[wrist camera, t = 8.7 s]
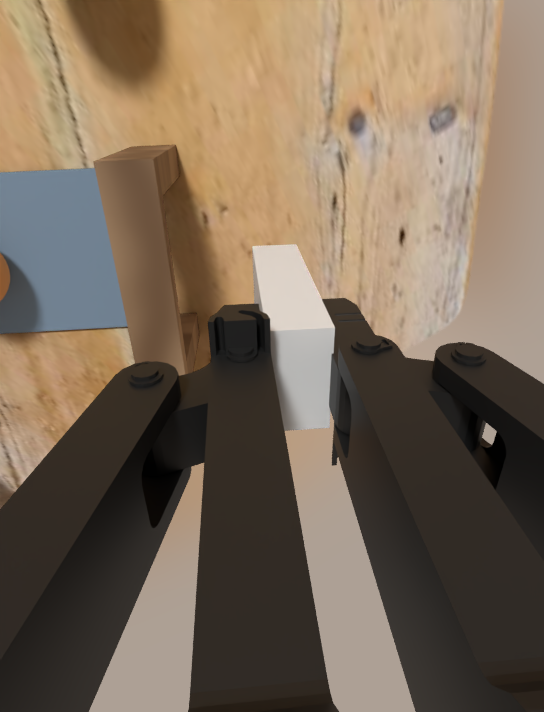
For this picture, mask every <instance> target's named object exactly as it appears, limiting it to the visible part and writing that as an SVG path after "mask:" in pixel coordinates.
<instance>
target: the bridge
mask: <svg viewBox="0 0 544 712" xmlns="http://www.w3.org/2000/svg"><path fill="white" fill-rule="evenodd" d="M94 167H95V172H96V177H97V181H98V186H99V191H100V196H101V201H102V206H103V210H104V215H105V220H106V225H107V230H108V234H109V239H110V244H111V249H112V254H113V258H114V263H115V268H116V273H117V278H118V283H119V287H120V292H121V297H122V302H123V307H124V311H125V316H126V321H127V326H128V331H129V336H130V340H131V345H132V350H133V355H134V360H135V364H136V363H139V362H140V363H142V362H145V361H150V362H154V361H158V362H164V363H168V364H170V365H172V366H174V367H175V368H176V370H177V372H178V374H179V376H180V375H184V374H188V373H192V372H193V368H194V363H195V357H196V352H197V346H198V340H199V328H198V320H197V313H189V314H180V313H179V306H178V299H177V292H176V285H175V278H174V271H173V264H172V257H171V250H170V243H169V237H168V230H167V223H166V216H165V209H164V202H163V195H164V194H165V193H166V191H167V190H168V189H169V188H170V187H171V185H172V184H173V183H174V182H175V181H176V180H177V178H178V177H179V168H178V160H177V152H176V145H160V146H137V147H129V148H127V149H124V150H122V151H119V152H117V153H114V154H112V155H109V156H107V157H104V158H102V159H99V160H96V161H94Z"/></svg>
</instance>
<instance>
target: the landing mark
mask: <svg viewBox="0 0 544 712" xmlns="http://www.w3.org/2000/svg"><path fill="white" fill-rule="evenodd" d="M0 253H1V254H2V256H3V257H4V259H5V260H6V262H7V265H8V268H9V271H10V284H9V288H8V291H7V293H6V295H5V296H4V298H3V299H2V300H1V301H0V334H5V333H22V332H40V331H57V330H75V329H92V328H110V327H127V321H126V316H125V311H124V307H123V302H122V297H121V292H120V287H119V283H118V278H117V273H116V268H115V263H114V258H113V254H112V249H111V244H110V239H109V234H108V230H107V225H106V220H105V215H104V210H103V206H102V201H101V196H100V191H99V186H98V181H97V177H96V172H95V168H90V169H68V170H45V171H23V172H1V173H0Z"/></svg>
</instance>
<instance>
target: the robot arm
mask: <svg viewBox="0 0 544 712" xmlns="http://www.w3.org/2000/svg"><path fill="white" fill-rule="evenodd" d="M252 252H253V278H254V304H239V305H224V306H223V307H222V308H221V309H220V310H219V311H218V312H217V313H216V314H214V315H213V316H211V317H210V319H209V321H208V329H209V340H210V350H211V362H210V363H209V364H208V365H207V366H205V367H204V368H202V369H200V370H198V371H195V372H192V373H188V374H184V375H180V376H179V374H178V372H177V370H176V368H175V367H174V366H172V365H170V364H168V363H164V362H158V361H154V362H150V361H145V362H142V363H140V362H139V363H136V364H133V365H131V366H129V367H127V368H124V369H122V370H121V371H120V372H119V373H117V374H116V375H115V376H114V377H113V379H112V380H111V381H110V382H109V383H108V384H107V386H106V387H105V388H104V389H103V390H102V391H101V393H100V394H99V395H98V396H97V397H96V398H95V400H94V401H93V402H92V403H91V404H90V405H89V407H88V408H87V409H86V410H85V411H84V412H83V414H82V415H81V416H80V417H79V418H78V419H77V421H76V422H75V423H74V424H73V425H72V426H71V428H70V429H69V430H68V431H67V432H66V433H65V435H64V436H63V437H62V438H61V439H60V440H59V442H58V443H57V444H56V445H55V446H54V447H53V449H52V450H51V451H50V452H49V453H48V454H47V456H46V457H45V458H44V459H43V460H42V461H41V463H40V464H39V465H38V466H37V467H36V468H35V470H34V471H33V472H32V473H31V474H30V475H29V477H28V478H27V479H26V480H25V481H24V482H23V484H22V485H21V486H20V487H19V488H18V489H17V491H16V492H15V493H14V494H13V495H12V496H11V498H10V499H9V500H8V501H7V502H6V503H5V505H4V506H3V507H2V508H1V509H0V712H89V710H90V707H91V705H92V703H93V700H94V698H95V696H96V693H97V691H98V689H99V686H100V684H101V682H102V680H103V677H104V675H105V672H106V670H107V668H108V666H109V663H110V661H111V659H112V656H113V654H114V652H115V649H116V647H117V645H118V642H119V640H120V638H121V635H122V633H123V631H124V629H125V626H126V624H127V622H128V619H129V617H130V615H131V612H132V610H133V608H134V605H135V603H136V601H137V598H138V596H139V594H140V591H141V589H142V587H143V584H144V582H145V580H146V577H147V575H148V573H149V571H150V568H151V566H152V564H153V561H154V559H155V557H156V554H157V552H158V550H159V547H160V545H161V543H162V540H163V538H164V536H165V534H166V531H167V529H168V527H169V524H170V522H171V520H172V517H173V515H174V513H175V510H176V508H177V506H178V503H179V501H180V499H181V496H182V494H183V492H184V489H185V487H186V485H187V483H188V480H189V478H190V474H191V466H194V465H198V464H201V463H204V478H203V495H202V512H201V528H200V543H199V560H198V575H197V591H196V608H195V623H194V624H195V625H194V641H193V656H192V672H191V688H190V701H189V710H188V712H339V711H338V709H337V708H336V706H335V705H334V704H333V701H332V697H331V694H330V689H329V684H328V679H327V673H326V668H325V662H324V656H323V651H322V645H321V639H320V633H319V627H318V622H317V616H316V610H315V604H314V599H313V593H312V587H311V581H310V576H309V570H308V564H307V558H306V552H305V547H304V541H303V535H302V529H301V524H300V518H299V512H298V506H297V501H296V495H295V489H294V483H293V478H292V472H291V466H290V460H289V454H288V449H287V443H286V437H285V431H286V430H302V429H317V428H329V426H330V410H331V413H332V416H333V419H334V434H333V451H332V465H337V464H336V463H337V458H338V457H339V461H340V464H341V467H342V470H343V474H344V477H345V480H346V484H347V487H348V490H349V494H350V497H351V500H352V503H353V507H354V510H355V513H356V516H357V520H358V523H359V526H360V530H361V533H362V536H363V540H364V543H365V546H366V549H367V553H368V556H369V559H370V562H371V566H372V569H373V573H374V576H375V579H376V582H377V586H378V589H379V592H380V596H381V599H382V602H383V606H384V609H385V612H386V615H387V619H388V622H389V625H390V629H391V632H392V635H393V638H394V642H395V645H396V648H397V652H398V655H399V658H400V661H401V665H402V668H403V671H404V674H405V678H406V681H407V684H408V688H409V691H410V694H411V698H412V701H413V704H414V707H415V711H416V712H544V384H543V383H541V382H540V381H538V380H537V379H535V378H533V377H532V376H530V375H529V374H527V373H525V372H524V371H522V370H521V369H519V368H518V367H516V366H514V365H513V364H511V363H509V362H508V361H507V360H505V359H503V358H502V357H500V356H499V355H497V354H495V353H494V352H492V351H490V350H488V349H485V348H484V347H480V346H477V345H474V344H472V343H466V344H465V343H463V342H458V343H450V344H446V345H443V346H440V347H439V348H438V349H437V350H436V353H435V358H434V361H428V360H419V359H411V358H406V357H405V356H404V355H403V354H402V352H401V351H400V349H399V348H398V346H397V345H396V344H395V343H394V342H393V341H391V340H389V339H387V338H385V337H382V336H377V335H375V334H374V332H373V331H372V329H371V328H370V326H369V324H368V323H367V321H365V318H364V316H363V315H362V314H361V312H360V310H359V308H358V307H357V305H356V304H354V303H352V302H351V301H349V300H347V299H346V298H337V299H321V297H320V295H319V292H318V290H317V288H316V286H315V284H314V282H313V280H312V277H311V275H310V273H309V271H308V269H307V267H306V265H305V262H304V260H303V258H302V256H301V254H300V252H299V250H298V247H297V245H296V244H294V245H269V246H252ZM486 423H488V424H489V425H490V426H491V427H492V428H494V429H495V430H496V431H497V433H496V436H495V440H494V443H493V444H492V445H491V444H489V443H488V442H486V441H485V440H484V439H483V438H482V435H483V432H484V427H485V424H486Z"/></svg>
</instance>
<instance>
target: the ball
mask: <svg viewBox="0 0 544 712" xmlns="http://www.w3.org/2000/svg"><path fill="white" fill-rule="evenodd" d="M9 284H10V271H9V268H8V265H7V262H6V260H5V259H4V257H3V256H2V254H1V253H0V301H1V300H2V299H3V298H4V296H5V295H6V293H7V291H8V288H9Z"/></svg>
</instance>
